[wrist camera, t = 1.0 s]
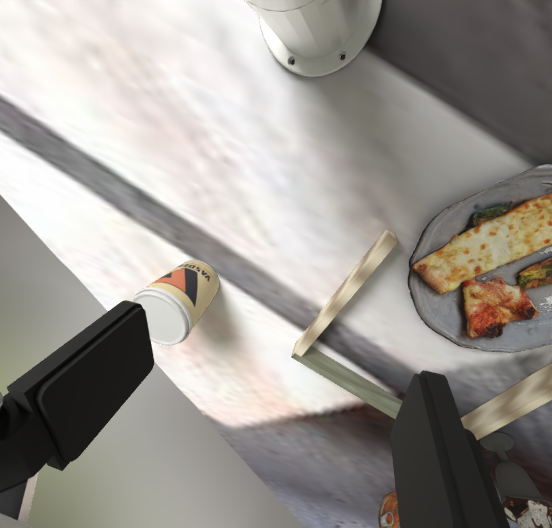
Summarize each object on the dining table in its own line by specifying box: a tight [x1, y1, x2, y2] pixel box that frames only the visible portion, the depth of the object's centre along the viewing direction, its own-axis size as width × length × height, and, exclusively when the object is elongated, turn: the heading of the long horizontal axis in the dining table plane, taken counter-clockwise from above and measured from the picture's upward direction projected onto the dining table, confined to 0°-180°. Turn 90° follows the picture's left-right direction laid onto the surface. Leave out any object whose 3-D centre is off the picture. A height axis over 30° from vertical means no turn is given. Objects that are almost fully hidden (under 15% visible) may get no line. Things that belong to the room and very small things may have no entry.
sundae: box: [480, 432, 552, 528], centre depth 42 cm, size 7×7×15 cm
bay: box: [292, 229, 552, 440], centre depth 42 cm, size 25×31×4 cm
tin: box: [378, 491, 400, 528], centre depth 56 cm, size 15×3×8 cm, turn 148°
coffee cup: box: [131, 260, 219, 345], centre depth 44 cm, size 9×9×12 cm
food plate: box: [408, 164, 552, 353], centre depth 34 cm, size 25×23×4 cm
